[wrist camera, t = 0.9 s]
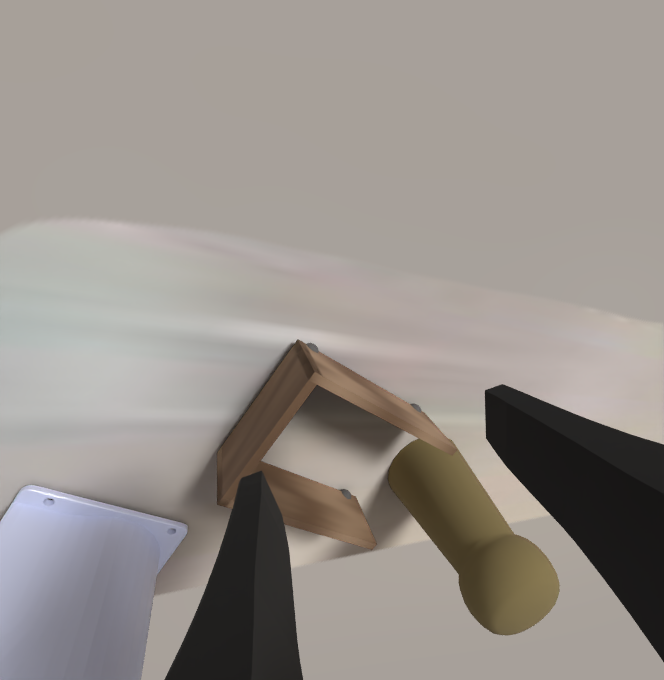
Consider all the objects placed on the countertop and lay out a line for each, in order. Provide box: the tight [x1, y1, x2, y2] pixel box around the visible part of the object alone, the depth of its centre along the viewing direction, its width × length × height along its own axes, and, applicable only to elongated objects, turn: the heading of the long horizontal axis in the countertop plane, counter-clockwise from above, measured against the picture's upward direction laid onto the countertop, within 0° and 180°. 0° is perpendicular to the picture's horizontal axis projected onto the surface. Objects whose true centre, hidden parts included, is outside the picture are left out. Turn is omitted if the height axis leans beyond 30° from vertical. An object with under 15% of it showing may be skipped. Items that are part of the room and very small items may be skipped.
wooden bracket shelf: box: [217, 340, 457, 550], centre depth 22 cm, size 11×9×4 cm
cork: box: [388, 439, 559, 635], centre depth 23 cm, size 6×6×11 cm
